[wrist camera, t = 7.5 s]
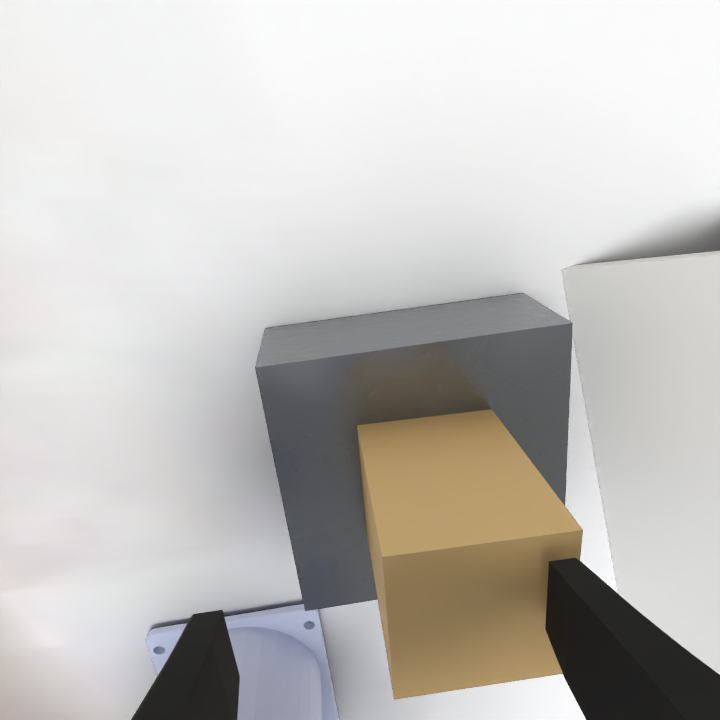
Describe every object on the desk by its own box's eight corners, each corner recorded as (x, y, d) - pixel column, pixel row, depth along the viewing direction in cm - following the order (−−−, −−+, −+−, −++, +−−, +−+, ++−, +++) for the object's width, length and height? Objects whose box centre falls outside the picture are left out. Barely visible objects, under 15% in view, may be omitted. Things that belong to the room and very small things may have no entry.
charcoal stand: (521, 504, 23) (562, 568, 20) (305, 539, 23) (305, 611, 19) (522, 293, 20) (572, 322, 16) (264, 328, 19) (255, 367, 16)
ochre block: (490, 520, 19) (568, 672, 13) (367, 536, 18) (394, 699, 13) (492, 409, 17) (583, 529, 11) (356, 425, 17) (382, 556, 11)
